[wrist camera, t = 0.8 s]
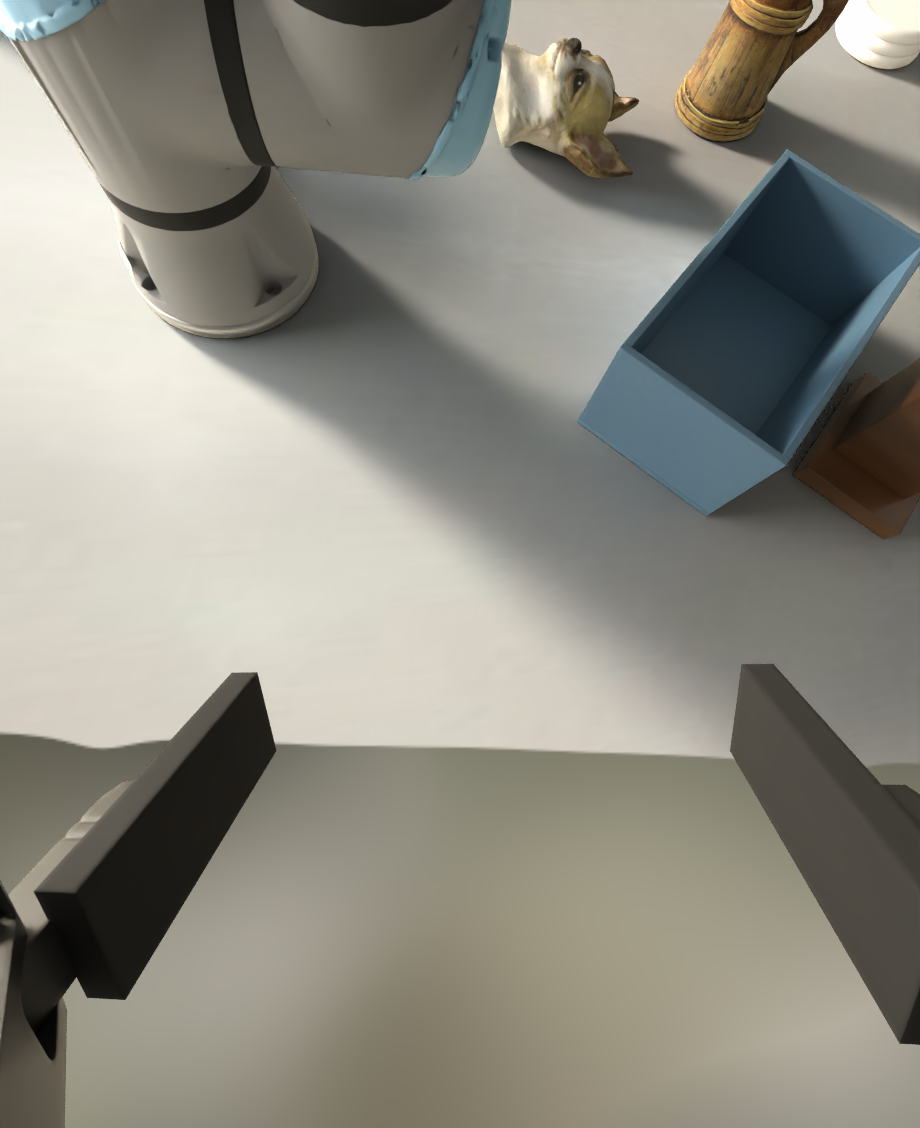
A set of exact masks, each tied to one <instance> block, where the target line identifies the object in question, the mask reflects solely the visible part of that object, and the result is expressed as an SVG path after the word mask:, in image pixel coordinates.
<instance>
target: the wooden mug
mask: <svg viewBox="0 0 920 1128" xmlns="http://www.w3.org/2000/svg"><path fill="white" fill-rule="evenodd" d="M729 1H730V2H729V3H728V5H727V7H726V9H725V11H724V13H723V15H722V17H721V18H720V20H719V22H718V24H717V26H716V27H715V29H714V31H713V33H712V35H711V37H710V38H709V40H708V42H707V44H706V46H705V47H704V49H703V51H702V53H701V55H700V56H699V58H698V60H697V62H696V64H695V66H694V67H693V68H692V69H691V70H690V71H689V72H688V74H687V75H686V77H685V79H684V80H683V82H682V84H681V86H680V87H679V89H678V91H677V93H676V96H675V109H676V111H677V114H678V116H679V118H680V119H681V120H682V122H683V123H684V124H685V125H686V126H687V127H688V128H689V129H691V130H692V131H693V132H695V133H696V134H698V135H700V136H701V137H704V138H707V139H710V140H715V141H730V140H736V139H741V138H744V137H745V136H747V135H748V134H750V133H752V131H753V130H754V128H755V127H756V125H757V124H758V122H759V120H760V118H761V116H762V114H763V111H764V109H765V106H766V104H767V95H768V94H769V92H770V91H771V89H772V88H773V87H774V85H775V84H776V82H777V81H778V80H779V78H780V77H781V76H782V74H783V73H784V72H785V71H786V70H787V69H788V68H789V67H790V66H791V65H792V64H793V63H794V62H795V61H796V60H797V59H798V58H799V57H800V56H802V55H803V54H804V53H805V52H806V51H807V50H808V49H809V48H810V47H812V46H813V45H814V44H815V43H816V42H817V41H818V40H819V39H820V38H821V37H822V36H823V35H824V34H825V33H826V32H827V31H828V30H829V29H830V28H831V26H832V25H833V24H834V22H835V21H836V20H837V18H838V17H839V16H840V15H841V13H842V12H843V10H844V9H845V7H846V5H847V3H848V1H849V0H823V2H824V4H823V10H822V11H821V13H820V15H819V16H818V18H817V19H816V20H815V21H814V22H813V23H812V24H811V25H810V26H808V27H807V28H806V29H804V30H802V31H799V32H797V30H798V29H799V28H801V27H802V26H803V24H804V23H805V22H806V20H807V19H808V17H809V15H810V13H811V11H812V9H813V4H812V0H729Z"/></svg>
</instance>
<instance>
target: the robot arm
mask: <svg viewBox="0 0 920 1128" xmlns="http://www.w3.org/2000/svg"><path fill="white" fill-rule="evenodd" d="M510 8H511V0H0V30H1V31H2V32H3V33H4V34H5V35H6V36H7V37H8V38H9V39H10V41H11V43H12V44H13V46H14V47H15V49H16V51H17V52H18V54H19V55H20V57H21V59H22V60H23V62H24V63H25V65H26V67H27V68H28V70H29V71H30V73H31V75H32V76H33V78H34V79H35V81H36V83H37V84H38V86H39V87H40V89H41V91H42V92H43V94H44V95H45V97H46V99H47V100H48V102H49V103H50V105H51V107H52V108H53V110H54V111H55V113H56V115H57V116H58V118H59V119H60V121H61V123H62V124H63V126H64V127H65V129H66V131H67V132H68V134H69V135H70V137H71V139H72V140H73V142H74V143H75V145H76V147H77V148H78V150H79V151H80V153H81V155H82V156H83V158H84V160H85V161H86V163H87V164H88V166H89V168H90V169H91V171H92V172H93V174H94V176H95V177H96V179H97V180H98V182H99V183H100V185H101V187H102V188H103V190H104V191H105V193H106V195H107V197H108V198H109V200H110V202H111V206H112V210H113V214H114V218H115V222H116V227H117V231H118V235H119V239H120V243H121V246H120V244H119V242H118V240H117V242H118V246H119V250H120V254H121V256H122V258H123V259H124V261H125V263H126V266H127V269H128V271H129V274H130V276H131V278H132V280H133V282H134V284H135V286H136V288H137V289H138V291H139V292H140V294H141V295H142V297H143V298H144V300H145V301H146V302H147V304H148V305H149V306H150V308H151V309H152V310H153V311H154V312H155V313H156V314H157V315H158V316H160V317H161V318H162V319H163V320H165V321H166V322H168V323H169V324H171V325H173V326H174V327H176V328H178V329H181V330H183V331H185V332H188V333H191V334H195V335H199V336H203V337H210V338H239V337H245V336H250V335H254V334H258V333H261V332H263V331H266V330H269V329H271V328H273V327H275V326H277V325H279V324H280V323H282V322H284V321H285V320H287V319H288V318H289V317H291V316H292V315H293V314H294V313H295V312H296V311H297V310H298V309H299V308H300V307H301V306H302V305H303V304H304V303H305V301H306V300H307V299H308V297H309V295H310V294H311V292H312V290H313V288H314V285H315V282H316V279H317V275H318V268H319V259H318V252H317V247H316V243H315V239H314V235H313V232H312V229H311V227H310V224H309V222H308V219H307V217H306V215H305V213H304V212H303V210H302V208H301V207H300V205H299V203H298V202H297V200H296V199H295V197H294V195H293V194H292V192H291V191H290V189H289V187H288V186H287V184H286V183H285V181H284V179H283V178H282V176H281V175H280V173H279V171H278V170H277V168H276V167H283V168H295V169H307V170H318V171H330V172H342V173H353V174H365V175H377V176H388V177H400V178H405V179H410V180H415V179H418V178H420V177H436V176H455V175H458V174H460V173H462V172H464V171H465V170H466V169H467V168H468V167H469V166H470V165H471V164H472V163H473V162H474V160H475V158H476V157H477V155H478V153H479V151H480V149H481V146H482V144H483V141H484V139H485V136H486V133H487V129H488V126H489V123H490V119H491V115H492V111H493V107H494V103H495V99H496V94H497V90H498V85H499V79H500V74H501V68H502V52H501V51H502V49H503V47H504V43H505V38H506V34H507V29H508V23H509V16H510ZM121 247H122V248H121ZM275 752H276V748H275V743H274V739H273V735H272V731H271V727H270V723H269V719H268V715H267V710H266V706H265V702H264V698H263V694H262V690H261V686H260V682H259V678H258V674H257V672H256V673H231V674H230V675H229V677H228V678H227V679H226V680H225V681H224V682H223V683H222V684H221V685H220V686H219V688H218V689H217V690H216V691H215V692H214V693H213V694H212V695H211V696H210V697H209V699H208V700H207V701H206V702H205V703H204V704H203V705H202V706H201V707H200V709H199V710H198V711H197V712H196V713H195V714H194V715H193V716H192V717H191V718H190V720H189V721H188V722H187V723H186V724H185V725H184V726H183V727H182V728H181V729H180V731H179V732H178V733H177V734H176V735H175V736H174V737H173V738H172V739H171V740H170V742H169V743H168V744H167V745H166V746H165V747H164V748H163V749H162V750H161V751H160V753H159V754H158V755H157V756H156V757H155V758H154V759H153V760H152V761H151V763H150V764H149V765H148V766H147V767H146V768H145V769H144V770H143V771H142V773H141V774H140V775H139V776H138V777H137V778H136V779H135V780H134V781H123V782H122V783H121V784H119V785H118V786H117V787H115V788H114V789H112V790H111V791H109V792H108V793H106V794H105V795H104V796H102V797H101V798H99V799H98V801H97V802H96V803H95V804H94V805H93V806H92V807H91V808H90V809H89V810H88V811H87V812H86V813H85V814H84V815H83V816H82V817H81V821H80V822H77V823H76V824H75V825H74V826H73V827H72V828H71V829H70V830H69V831H68V832H67V833H66V836H65V838H64V839H60V840H59V842H58V843H57V844H56V845H55V846H54V847H53V848H52V849H51V850H50V851H49V852H48V853H47V854H46V855H45V856H44V857H43V858H42V859H41V860H40V862H39V863H38V864H37V865H36V866H35V867H34V868H33V869H32V870H31V871H30V872H29V873H28V874H27V875H26V876H25V877H24V879H23V880H21V882H20V883H19V884H18V885H17V886H16V887H15V888H14V889H13V890H12V891H11V892H10V893H9V894H7V892H6V890H5V889H4V886H3V885H2V883H1V881H0V1128H65V1082H66V1031H67V1009H66V1006H65V1002H64V1000H63V998H62V997H63V995H64V994H65V992H66V991H67V989H68V988H69V987H70V985H71V984H72V982H73V981H74V980H75V978H76V977H77V979H78V981H79V982H80V985H81V987H82V988H83V990H84V992H85V994H86V996H87V998H103V999H119V1000H125V999H126V998H127V996H128V995H129V993H130V991H131V989H132V988H133V986H134V985H135V983H136V981H137V980H138V978H139V976H140V975H141V973H142V971H143V970H144V968H145V967H146V965H147V963H148V962H149V960H150V958H151V957H152V955H153V953H154V952H155V950H156V948H157V947H158V945H159V943H160V942H161V940H162V938H163V937H164V935H165V934H166V932H167V930H168V928H169V927H170V925H171V923H172V922H173V920H174V919H175V917H176V915H177V914H178V912H179V910H180V909H181V907H182V905H183V904H184V902H185V900H186V899H187V897H188V896H189V894H190V892H191V891H192V889H193V887H194V886H195V884H196V882H197V881H198V879H199V877H200V876H201V874H202V872H203V871H204V869H205V868H206V866H207V864H208V862H209V861H210V859H211V858H212V856H213V854H214V853H215V851H216V849H217V848H218V846H219V844H220V842H221V841H222V839H223V838H224V836H225V834H226V833H227V831H228V830H229V828H230V826H231V824H232V823H233V821H234V820H235V818H236V816H237V815H238V813H239V811H240V810H241V808H242V806H243V805H244V803H245V801H246V800H247V798H248V797H249V795H250V793H251V792H252V790H253V788H254V787H255V785H256V783H257V782H258V780H259V778H260V777H261V775H262V774H263V772H264V770H265V769H266V767H267V765H268V764H269V762H270V760H271V759H272V757H273V755H274V754H275ZM730 752H731V753H732V755H733V757H734V758H735V760H736V762H737V764H738V765H739V767H740V769H741V771H742V772H743V774H744V776H745V777H746V779H747V781H748V783H749V784H750V786H751V788H752V790H753V791H754V793H755V795H756V796H757V798H758V800H759V801H760V803H761V805H762V807H763V808H764V810H765V812H766V814H767V815H768V817H769V819H770V820H771V822H772V824H773V826H774V827H775V829H776V831H777V833H778V834H779V836H780V838H781V840H782V841H783V843H784V845H785V846H786V848H787V850H788V852H789V853H790V855H791V857H792V858H793V860H794V862H795V864H796V865H797V867H798V869H799V870H800V872H801V874H802V876H803V877H804V879H805V881H806V883H807V884H808V886H809V888H810V889H811V891H812V893H813V895H814V896H815V898H816V900H817V902H818V903H819V905H820V907H821V908H822V910H823V912H824V914H825V915H826V917H827V919H828V920H829V922H830V924H831V926H832V927H833V929H834V931H835V933H836V934H837V936H838V938H839V940H840V941H841V943H842V945H843V946H844V948H845V950H846V952H847V953H848V955H849V957H850V958H851V960H852V962H853V964H854V965H855V967H856V969H857V971H858V972H859V974H860V976H861V977H862V979H863V981H864V983H865V984H866V986H867V988H868V990H869V991H870V993H871V995H872V996H873V998H874V1000H875V1002H876V1003H877V1005H878V1007H879V1008H880V1010H881V1012H882V1013H883V1015H884V1017H885V1019H886V1020H887V1022H888V1024H889V1026H890V1027H891V1029H892V1031H893V1032H894V1034H895V1036H896V1038H897V1040H898V1041H899V1043H900V1044H918V1045H920V794H918V793H917V792H915V791H914V790H912V789H911V788H909V787H908V786H906V785H881V784H880V783H879V781H878V780H877V779H876V778H875V777H874V776H873V775H872V774H871V772H869V770H868V769H867V768H866V767H865V766H864V765H863V764H862V762H861V761H860V760H859V759H858V758H857V757H856V756H855V755H854V754H853V752H852V751H851V750H850V749H849V748H848V747H847V746H846V745H845V743H844V742H843V741H842V740H841V739H840V738H839V737H838V736H837V735H836V733H835V732H834V731H833V730H832V729H831V728H830V727H829V726H828V725H827V723H826V722H825V721H824V720H823V719H822V718H821V717H820V716H819V714H818V713H817V712H816V711H815V710H814V709H813V708H812V707H811V706H810V704H809V703H808V702H807V701H806V700H805V699H804V698H803V697H802V696H801V694H800V693H799V692H798V691H797V690H796V689H795V688H794V687H793V685H792V684H791V683H790V682H789V681H788V680H787V679H786V678H785V677H784V675H783V674H782V673H781V672H780V671H779V670H778V669H777V668H776V667H775V665H774V664H742V665H741V673H740V680H739V688H738V695H737V703H736V710H735V718H734V725H733V733H732V740H731V748H730Z"/></svg>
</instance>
